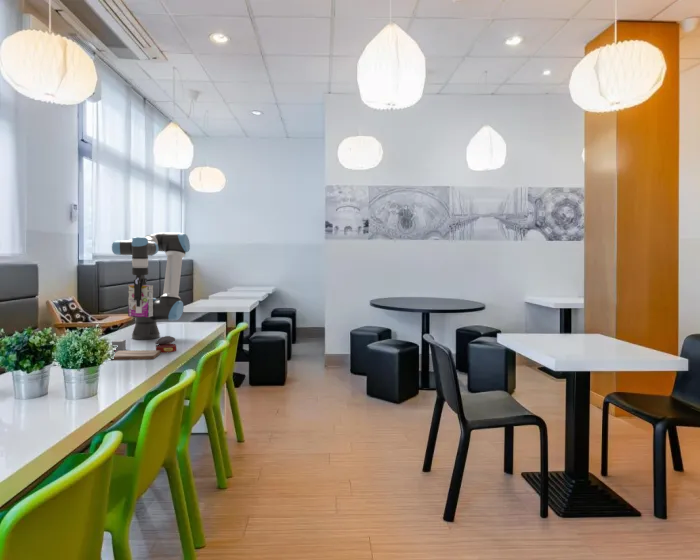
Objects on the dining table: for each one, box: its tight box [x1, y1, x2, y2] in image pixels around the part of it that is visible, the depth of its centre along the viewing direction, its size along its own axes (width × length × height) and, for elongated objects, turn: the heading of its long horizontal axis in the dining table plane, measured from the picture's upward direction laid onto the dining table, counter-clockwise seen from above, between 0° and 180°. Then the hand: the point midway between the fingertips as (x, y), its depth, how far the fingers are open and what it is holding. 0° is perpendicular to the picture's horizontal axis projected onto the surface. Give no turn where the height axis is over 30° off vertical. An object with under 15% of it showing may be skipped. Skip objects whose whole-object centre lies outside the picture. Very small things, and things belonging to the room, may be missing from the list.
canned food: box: [154, 335, 177, 354], centre depth 243 cm, size 11×10×10 cm
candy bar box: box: [127, 284, 154, 318], centre depth 242 cm, size 11×5×16 cm, turn 85°
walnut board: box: [112, 349, 162, 361], centre depth 229 cm, size 14×20×2 cm
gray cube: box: [111, 339, 127, 352], centre depth 243 cm, size 5×5×5 cm
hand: (140, 311), depth 243 cm, fingers closed on candy bar box, 6 cm apart
